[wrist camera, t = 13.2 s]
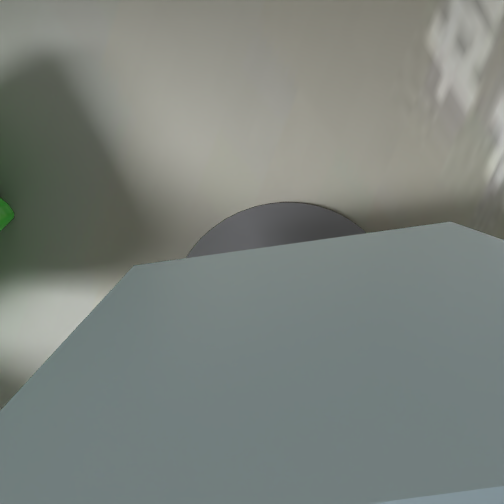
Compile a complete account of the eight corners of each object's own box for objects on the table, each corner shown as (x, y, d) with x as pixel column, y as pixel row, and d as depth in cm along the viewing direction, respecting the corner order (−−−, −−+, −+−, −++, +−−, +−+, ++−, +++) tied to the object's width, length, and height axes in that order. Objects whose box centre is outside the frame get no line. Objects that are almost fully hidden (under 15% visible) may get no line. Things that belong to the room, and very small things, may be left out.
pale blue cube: (133, 265, 12) (-149, 571, 3) (450, 221, 12) (1017, 417, 3) (191, 507, 14) (120, 1014, 6) (447, 473, 14) (741, 939, 6)
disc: (149, 220, 16) (148, 221, 16) (392, 186, 16) (394, 186, 16) (192, 422, 19) (192, 425, 19) (398, 393, 19) (399, 396, 19)
